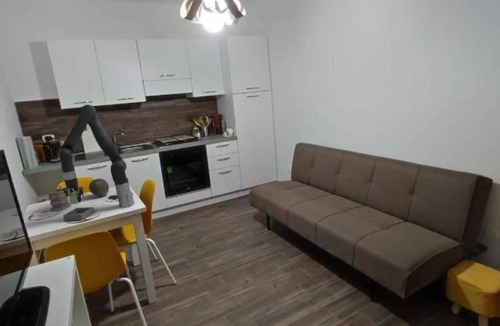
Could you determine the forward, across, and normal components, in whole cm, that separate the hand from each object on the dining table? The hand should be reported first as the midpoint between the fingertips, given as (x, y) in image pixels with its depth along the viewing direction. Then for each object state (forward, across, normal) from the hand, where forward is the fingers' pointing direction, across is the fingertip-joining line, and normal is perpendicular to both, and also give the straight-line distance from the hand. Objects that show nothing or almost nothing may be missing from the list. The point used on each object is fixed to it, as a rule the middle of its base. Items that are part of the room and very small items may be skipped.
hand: (76, 201), depth 205 cm
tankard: (+11, +31, -22) cm, 39 cm away
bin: (+11, 0, 0) cm, 11 cm away
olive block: (+1, 0, 0) cm, 1 cm away
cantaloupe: (+11, +11, -41) cm, 44 cm away
